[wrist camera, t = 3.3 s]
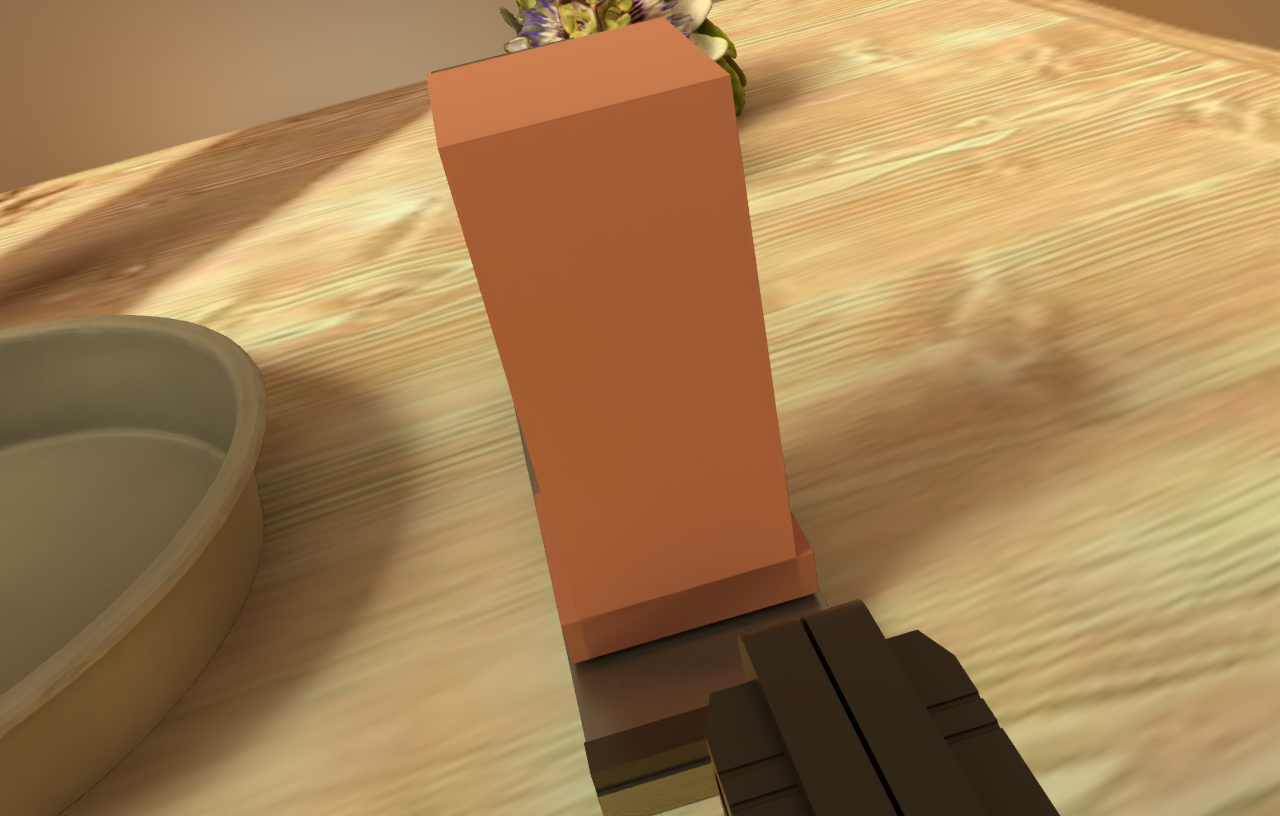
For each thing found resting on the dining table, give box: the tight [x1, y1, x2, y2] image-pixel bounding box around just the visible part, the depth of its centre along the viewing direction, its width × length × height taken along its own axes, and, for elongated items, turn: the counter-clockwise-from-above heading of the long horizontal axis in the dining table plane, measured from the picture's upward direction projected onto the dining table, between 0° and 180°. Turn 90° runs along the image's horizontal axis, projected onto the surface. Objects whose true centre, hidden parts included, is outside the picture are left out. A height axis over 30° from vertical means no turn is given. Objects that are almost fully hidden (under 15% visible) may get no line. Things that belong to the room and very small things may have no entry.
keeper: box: [427, 17, 819, 664], centre depth 23 cm, size 6×5×12 cm
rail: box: [431, 37, 829, 816], centre depth 32 cm, size 6×31×8 cm, turn 12°
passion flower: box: [500, 0, 747, 116], centre depth 55 cm, size 11×11×12 cm
